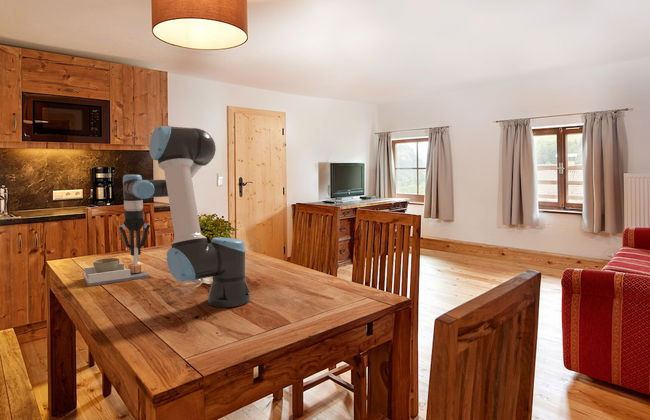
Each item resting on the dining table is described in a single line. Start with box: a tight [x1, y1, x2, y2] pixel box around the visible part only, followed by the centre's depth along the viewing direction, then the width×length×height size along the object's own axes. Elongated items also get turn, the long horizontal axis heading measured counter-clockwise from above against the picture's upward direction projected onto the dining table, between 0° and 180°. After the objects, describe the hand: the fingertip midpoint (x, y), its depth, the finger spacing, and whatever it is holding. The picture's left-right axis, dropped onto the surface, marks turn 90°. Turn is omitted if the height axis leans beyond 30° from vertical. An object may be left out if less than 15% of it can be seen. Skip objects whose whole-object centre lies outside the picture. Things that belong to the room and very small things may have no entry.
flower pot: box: [92, 257, 120, 273], centre depth 174 cm, size 10×10×7 cm
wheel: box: [127, 261, 145, 273], centre depth 181 cm, size 6×6×4 cm
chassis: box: [83, 262, 149, 287], centre depth 177 cm, size 14×23×5 cm, turn 127°
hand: (136, 262), depth 181 cm, fingers closed
